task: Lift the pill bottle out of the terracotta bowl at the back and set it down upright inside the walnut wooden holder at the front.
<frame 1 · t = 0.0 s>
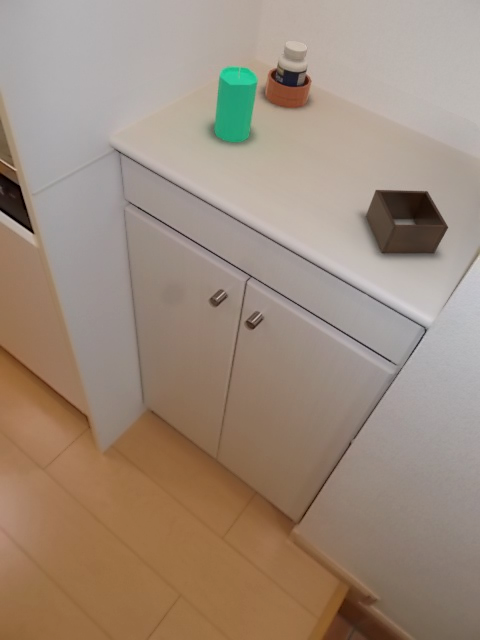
pill bottle: (285, 100, 99), resting on bowl
bowl: (285, 101, 99), on the worktop
candle: (231, 137, 89), on the worktop
holder: (397, 238, 77), on the worktop
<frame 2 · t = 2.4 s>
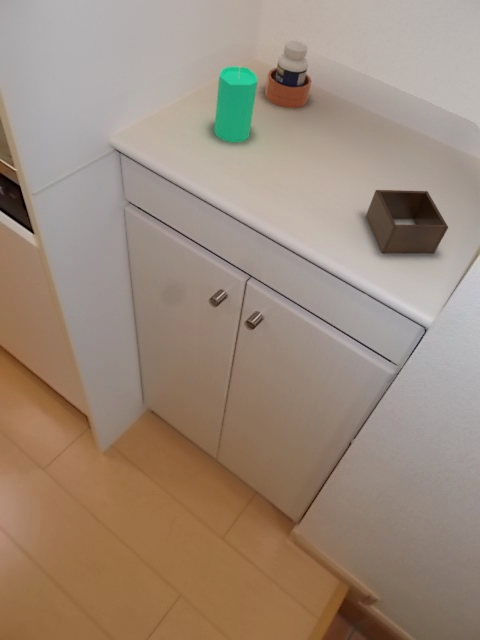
nothing on the worktop moved.
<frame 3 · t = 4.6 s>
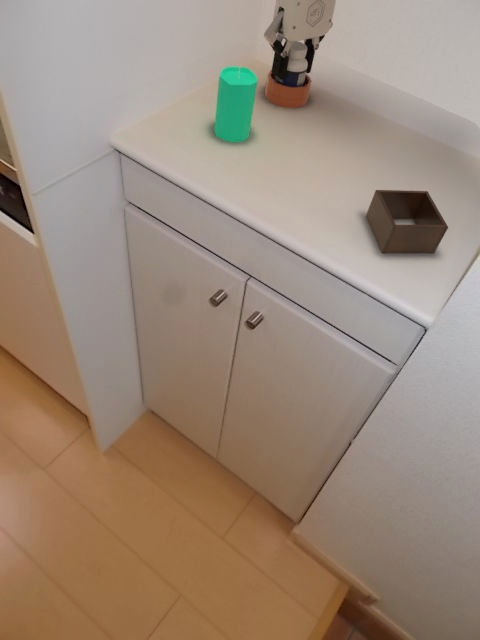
hand: (291, 72, 95), 5 cm above the worktop, tool pointing down, fingers closed on pill bottle, 5 cm apart
pill bottle: (285, 100, 99), resting on bowl, touching gripper
everything else where it was.
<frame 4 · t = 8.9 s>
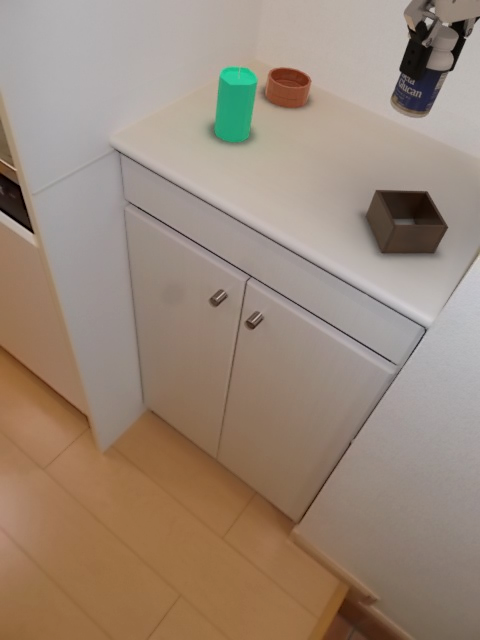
hand: (426, 69, 65), 21 cm above the worktop, tool pointing down, fingers closed on pill bottle, 5 cm apart
pill bottle: (408, 109, 69), point 16 cm above the worktop, touching gripper
everything else where it was.
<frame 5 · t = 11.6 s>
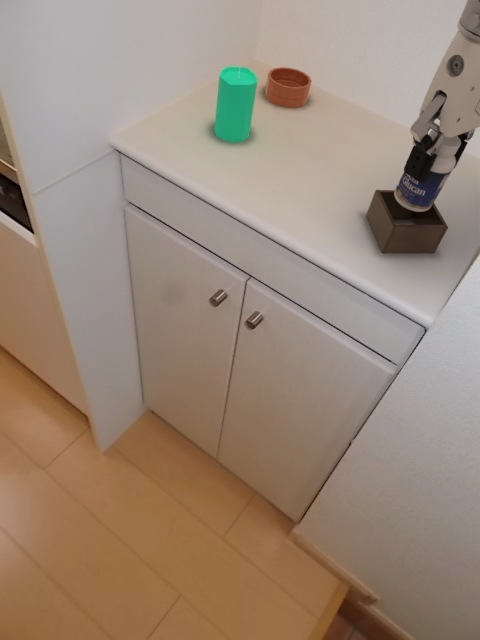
hand: (429, 169, 68), 12 cm above the worktop, tool pointing down, fingers closed on pill bottle, 5 cm apart
pill bottle: (411, 201, 72), point 7 cm above the worktop, touching gripper
everything else where it was.
when the fingers open (6 cm above the worktop, at t = 13.5 s): pill bottle stays where it is, resting on holder.
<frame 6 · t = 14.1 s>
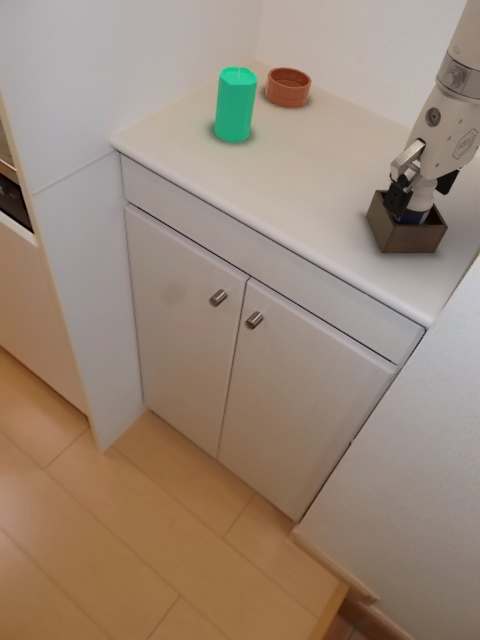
hand: (415, 199, 71), 7 cm above the worktop, tool pointing down, fingers open, 9 cm apart
pill bottle: (396, 235, 76), resting on holder
everything else where it was.
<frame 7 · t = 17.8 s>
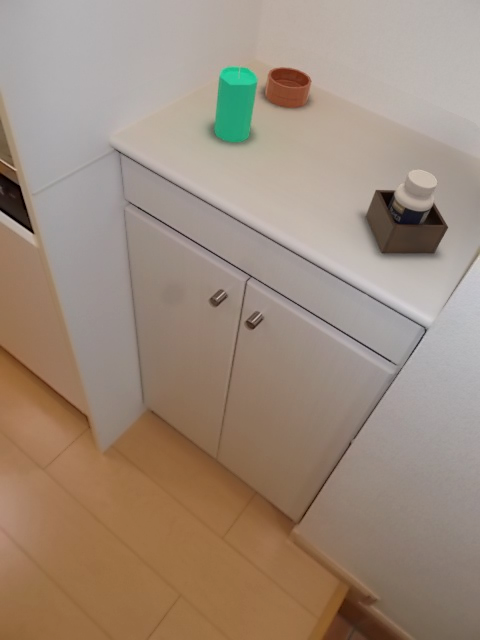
nothing on the worktop moved.
at the end: pill bottle 0.3 cm off-centre in the holder, point 0.4 cm above the holder's base; pill bottle tilted 0°; the gripper is holding nothing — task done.
